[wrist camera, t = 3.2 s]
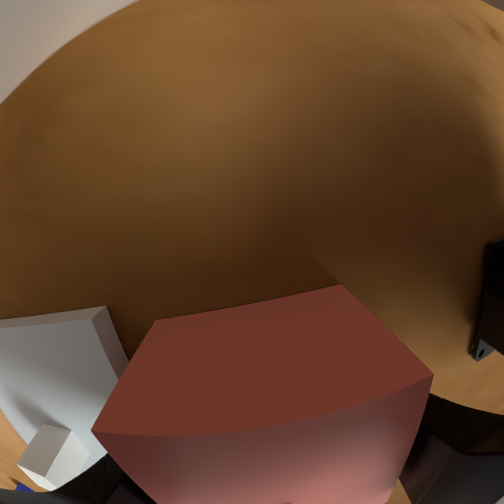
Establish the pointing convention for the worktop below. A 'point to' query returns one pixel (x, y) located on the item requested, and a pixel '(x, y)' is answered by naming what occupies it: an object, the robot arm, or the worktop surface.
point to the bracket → (23, 488)
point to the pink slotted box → (268, 405)
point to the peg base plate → (58, 388)
